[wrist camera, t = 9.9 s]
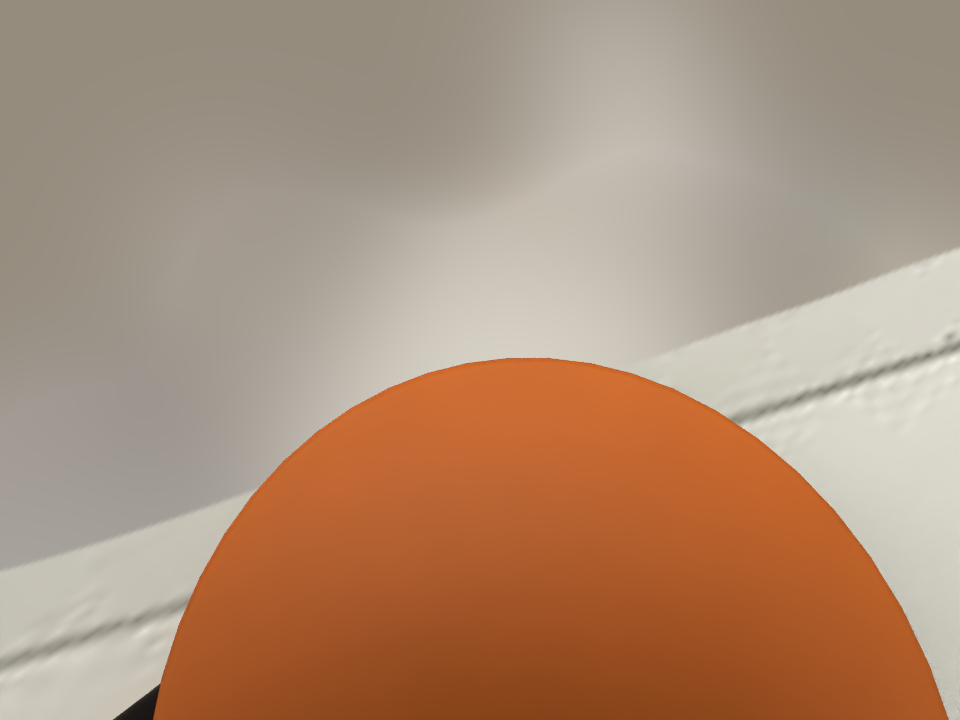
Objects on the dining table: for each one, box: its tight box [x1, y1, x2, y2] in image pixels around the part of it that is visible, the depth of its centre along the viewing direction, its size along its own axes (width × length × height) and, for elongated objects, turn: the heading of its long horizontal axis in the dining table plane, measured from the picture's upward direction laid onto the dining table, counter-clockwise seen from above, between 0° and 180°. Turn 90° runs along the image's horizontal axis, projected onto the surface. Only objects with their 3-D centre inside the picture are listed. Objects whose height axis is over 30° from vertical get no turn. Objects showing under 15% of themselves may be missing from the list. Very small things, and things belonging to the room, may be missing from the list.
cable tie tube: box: [153, 358, 949, 720], centre depth 9 cm, size 5×5×12 cm
